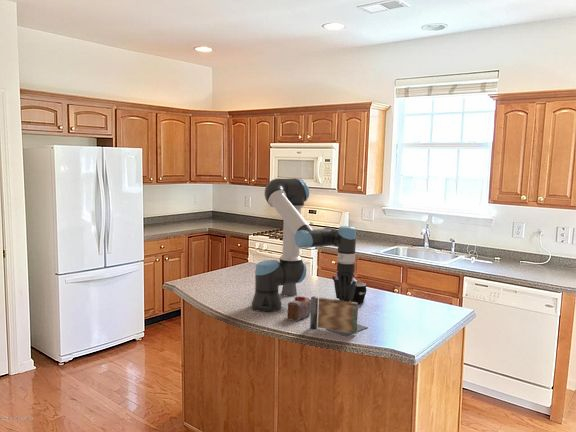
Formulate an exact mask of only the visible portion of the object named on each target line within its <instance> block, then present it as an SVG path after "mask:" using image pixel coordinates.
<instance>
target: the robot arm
mask: <svg viewBox="0 0 576 432" xmlns="http://www.w3.org/2000/svg"><path fill="white" fill-rule="evenodd" d="M309 197H310V189H309V185H308V184H307V182H306V181H305V180H304V179H302V178H295V177H294V178H280V177H279V178H274V179H271V180H270V181H269V182H268V183H266V186H265V189H264V198H265V199H264V200H265V201H266V202H267V204H268V205H269V207H271V208H274V209H275V211H276V212H277V214H279V216H280V217H281V218H282V219H283V226H282V227H283V229H282V230H283V233H282V235H283V236H282V255H281V256H280V257H279V260H277V259H266V260H265V259H264V260H261V261H259V262H257V264H255V272H254V274H255V283H254V285H255V287H254V295H253V299H252V301H251V306H250V307H251V309H252V308H253V309H252V310H254V309H255V310H254V311H257V310H259V311H258V312H262V311H268V312H267V313H269V311H272V312H277V311H279V310H281V309H282V305H283V304H282V300H281V297H280V293H279V287H280V286H283V285H288V284H296V285H297V284H300V283H301V282H303V281H304V280H305V278H306V276H307V266H306V262H305V261H304V260H303V257H302V256H301V255H300V249H301V248H302V249H309V248H316V247H328V246H331V247H332V246H334V247H337V264H336V271H337V273H336V275H332V280H333V284H334V290H335V291H334V292H335V298H336V300H342V301H348V302H350V301H352V300H353V297H354V293H355V290H356V286H357V284H358V283H359V282H360V281H359V280H357V279H356V278H355V273H354V272H355V266H356V265H355V262H356V245H357V244H356V243H357V229H356V228H355V226H350V225H348V226H347V225H342V226H339V227H338V228H333V227H324V228H320V229H313V228H312V226H311V225H310V224H309V223H308V221H306V219H305V218H304V217H303V216H302V215H301V214H302V212H301V211H302V208H303V207H305V202H307V201H308V199H309ZM351 283H352V284H351ZM350 286H351V287H350Z"/></svg>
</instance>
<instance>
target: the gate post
mask: <svg viewBox="0 0 576 432" xmlns="http://www.w3.org/2000/svg"><path fill="white" fill-rule="evenodd" d="M310 300H311V313H310V321H309V322H310V324H309V328H310V329H311V330H317V329H318V306H319V301H318V300H319V297H318V296H315V295H314V296H311V297H310ZM310 329H309V330H310Z"/></svg>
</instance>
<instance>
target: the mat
mask: <svg viewBox="0 0 576 432" xmlns="http://www.w3.org/2000/svg"><path fill="white" fill-rule="evenodd" d="M368 328H369V327H368V326H366V325H362V324H360V323H357V333H358V332H361V331H364V330H367V329H368ZM325 330H327V331H329V332H332V333H336V334H338V335H341V336H343V337H348V336H350V335H354V334H353V333H349V332H343V331H337V330H331V329H325Z"/></svg>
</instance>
